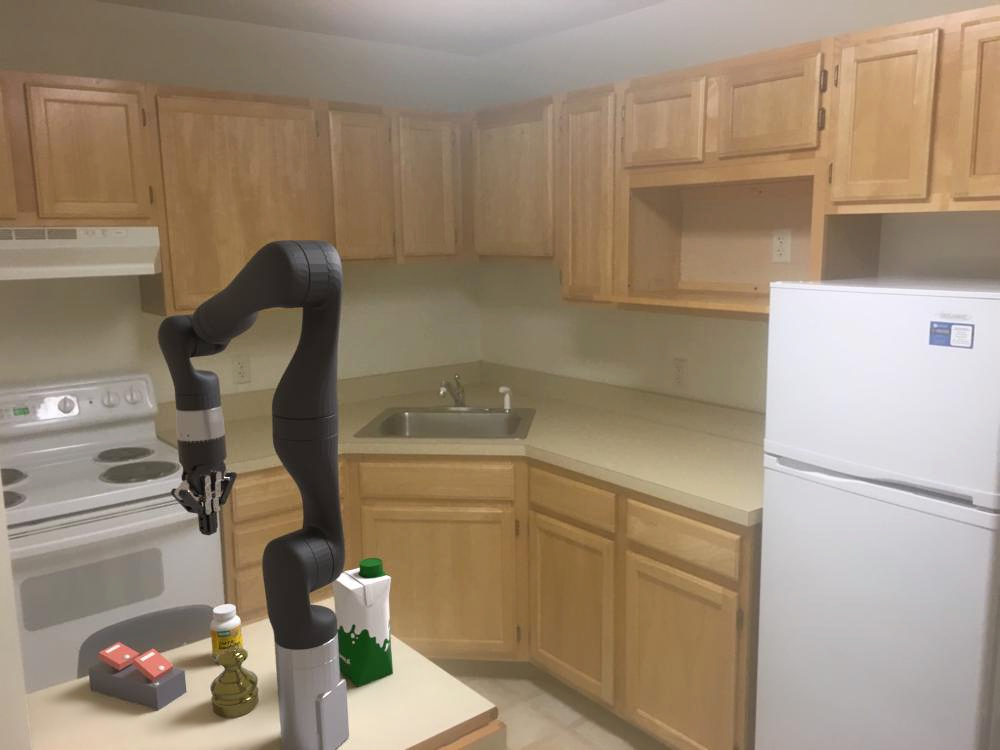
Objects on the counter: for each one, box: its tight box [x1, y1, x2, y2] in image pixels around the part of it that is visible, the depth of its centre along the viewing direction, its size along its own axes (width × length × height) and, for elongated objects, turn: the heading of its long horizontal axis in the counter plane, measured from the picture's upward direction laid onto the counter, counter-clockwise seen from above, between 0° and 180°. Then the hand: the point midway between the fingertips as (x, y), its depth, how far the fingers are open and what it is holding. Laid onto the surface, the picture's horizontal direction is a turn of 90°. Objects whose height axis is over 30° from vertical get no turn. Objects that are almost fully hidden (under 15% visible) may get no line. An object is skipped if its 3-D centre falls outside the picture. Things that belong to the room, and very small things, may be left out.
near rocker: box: [132, 648, 175, 682], centre depth 133 cm, size 5×4×2 cm
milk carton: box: [331, 557, 394, 688], centre depth 138 cm, size 9×9×20 cm
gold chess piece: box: [210, 647, 260, 718], centre depth 130 cm, size 7×7×10 cm
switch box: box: [87, 660, 188, 711], centre depth 135 cm, size 16×6×4 cm, turn 65°
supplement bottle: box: [209, 603, 244, 663], centre depth 146 cm, size 5×5×10 cm
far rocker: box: [98, 641, 140, 670], centre depth 136 cm, size 5×4×2 cm
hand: (209, 533), depth 134 cm, fingers closed
